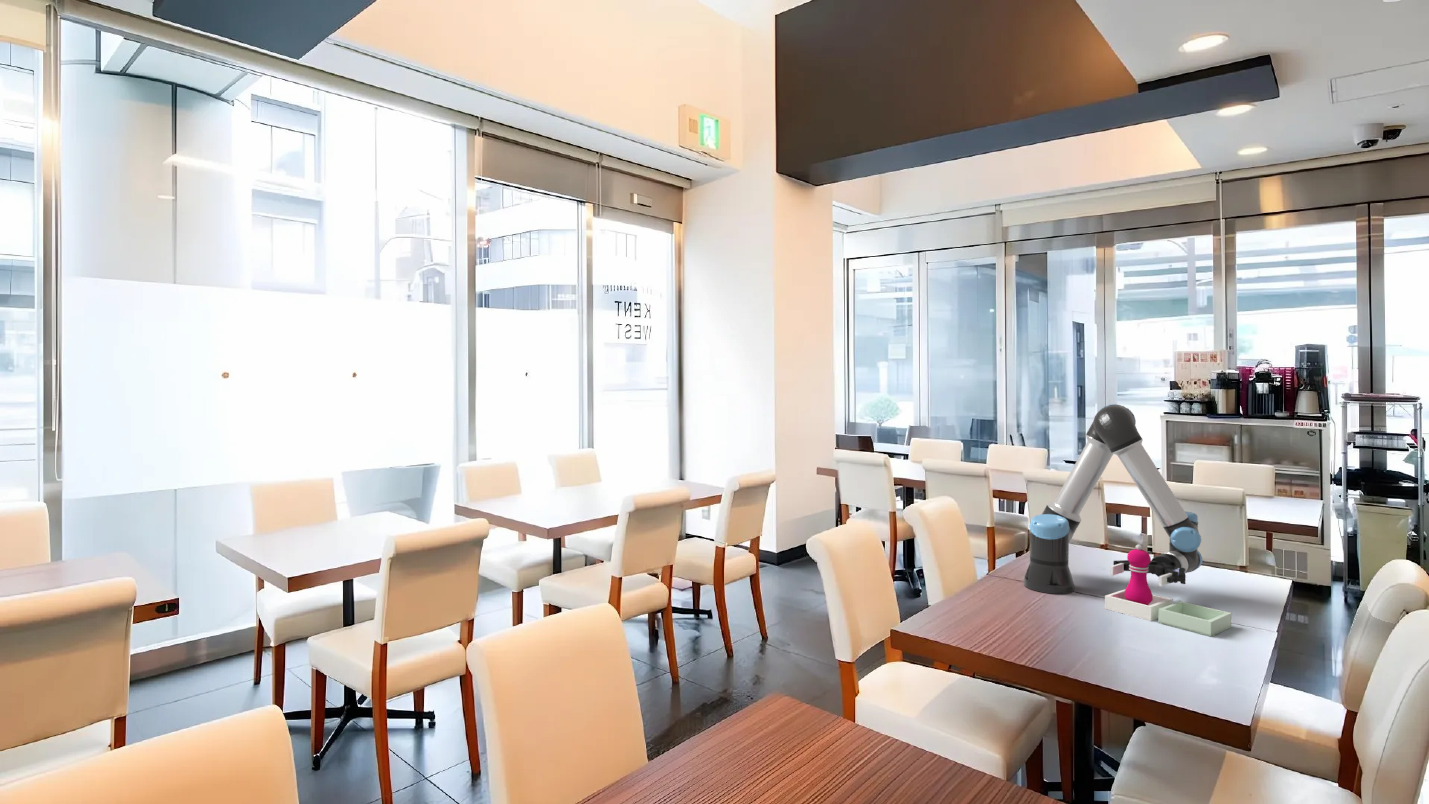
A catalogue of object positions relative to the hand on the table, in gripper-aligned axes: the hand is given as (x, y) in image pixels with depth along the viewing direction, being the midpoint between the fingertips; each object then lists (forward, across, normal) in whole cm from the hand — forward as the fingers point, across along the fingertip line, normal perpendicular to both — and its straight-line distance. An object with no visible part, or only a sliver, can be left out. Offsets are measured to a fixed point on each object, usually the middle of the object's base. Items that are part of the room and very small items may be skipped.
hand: (1135, 576), depth 208 cm
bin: (-2, 0, -11) cm, 11 cm away
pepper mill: (-2, 0, -11) cm, 11 cm away
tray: (-2, -15, -11) cm, 19 cm away
